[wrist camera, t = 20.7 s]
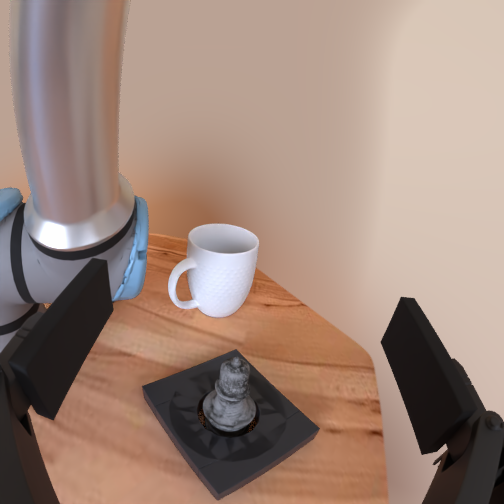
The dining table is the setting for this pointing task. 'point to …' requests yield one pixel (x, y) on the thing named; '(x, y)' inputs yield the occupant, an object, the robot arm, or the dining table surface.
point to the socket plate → (223, 448)
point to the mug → (217, 269)
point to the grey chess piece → (230, 401)
